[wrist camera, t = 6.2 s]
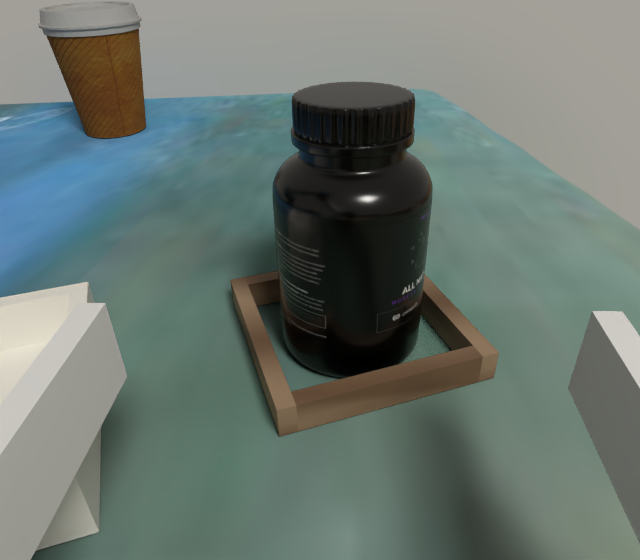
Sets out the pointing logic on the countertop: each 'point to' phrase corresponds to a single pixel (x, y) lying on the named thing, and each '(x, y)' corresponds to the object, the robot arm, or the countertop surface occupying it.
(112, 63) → the disposable coffee cup
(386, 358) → the supplement bottle
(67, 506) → the cream tray
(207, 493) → the countertop surface
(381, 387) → the walnut collar
